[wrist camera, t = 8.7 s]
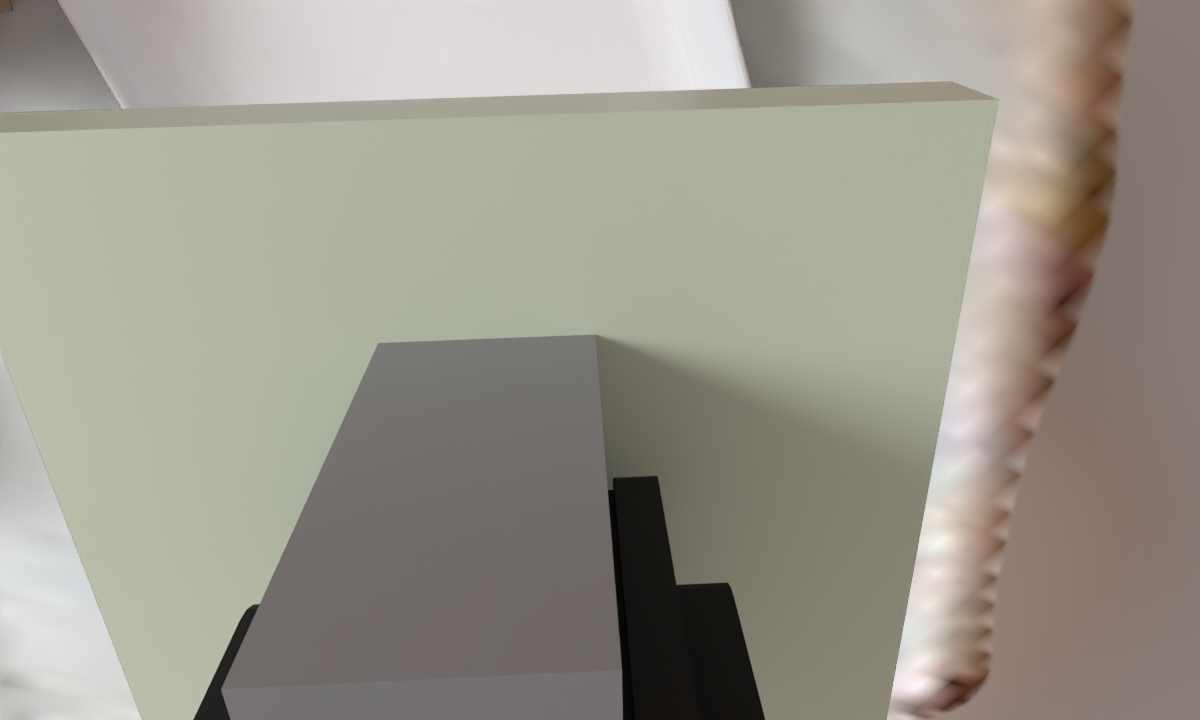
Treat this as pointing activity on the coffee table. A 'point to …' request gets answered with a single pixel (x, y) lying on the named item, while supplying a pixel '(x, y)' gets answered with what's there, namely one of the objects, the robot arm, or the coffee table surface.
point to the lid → (489, 381)
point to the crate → (5, 6)
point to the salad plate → (403, 48)
